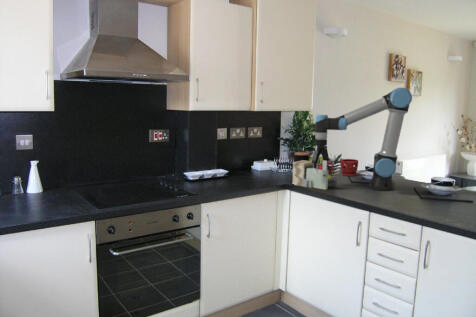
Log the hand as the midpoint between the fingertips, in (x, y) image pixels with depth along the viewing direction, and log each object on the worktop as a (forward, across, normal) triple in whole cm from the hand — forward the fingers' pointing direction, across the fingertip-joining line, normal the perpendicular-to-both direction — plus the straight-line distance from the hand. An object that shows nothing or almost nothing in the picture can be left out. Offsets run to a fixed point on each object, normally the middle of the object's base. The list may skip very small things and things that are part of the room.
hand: (320, 171), depth 253 cm
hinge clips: (+10, 0, -7) cm, 13 cm away
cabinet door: (+10, 0, -2) cm, 11 cm away
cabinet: (+10, -4, -15) cm, 18 cm away
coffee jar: (+10, -24, -27) cm, 37 cm away
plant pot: (+11, -58, -4) cm, 59 cm away
